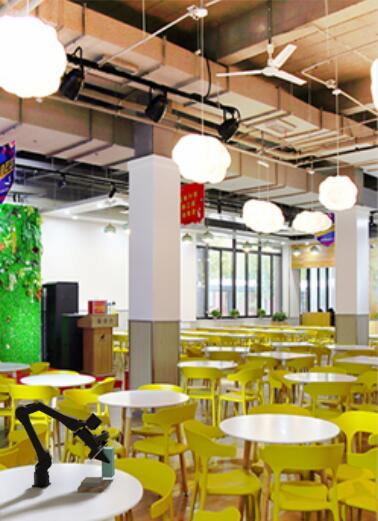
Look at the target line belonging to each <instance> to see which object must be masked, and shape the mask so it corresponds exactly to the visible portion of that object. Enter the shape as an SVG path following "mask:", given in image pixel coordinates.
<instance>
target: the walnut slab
mask: <svg viewBox="0 0 378 521" xmlns="http://www.w3.org/2000/svg"><path fill="white" fill-rule="evenodd" d="M108 484H109V482H108V480H107V479H103V482H102V483H101V484H100V486H99V487H81V484H80V485H79V486H78V487H77V493H103V492H104V490H105V488H106V487H107V486H108Z"/></svg>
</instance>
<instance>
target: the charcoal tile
mask: <svg viewBox="0 0 378 521" xmlns="http://www.w3.org/2000/svg"><path fill="white" fill-rule="evenodd" d="M103 480H104V477H102V476H87V477H85V478H83V480H82V481H81V482H80V485H81V487H99V486H100V484H101V483H102V482H103Z"/></svg>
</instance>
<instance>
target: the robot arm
mask: <svg viewBox="0 0 378 521" xmlns="http://www.w3.org/2000/svg"><path fill="white" fill-rule="evenodd" d="M37 412H41V413H42V414H44V415H46V416H49V417H50V418H52V419H53V420H56V421H58V422H60V423H61V424H62V425H63V426H64V427H66V428H67V429H68V430H69V431H71V432H72V439H75V438H76V437H77V438H78V439H80V441H82V443H84V444H83V446H84V447H87V448H88V449H89V450H90V451H89V453H88V454H87V458H88V459H89V460H90V461H91V460H92V459H93V460H97V461H100V462H101V463H102V462H105V463H108V464H109V463H110V461H109V459H108V458H107V457H106V455H105V454H104V449H102V448H103V447H109V438H111V436H110V432H109V431H108V430H106V429H103V430H101V433H100V434H98V435H97V434H95V433H94V434H93V433H92V431H96V430H97V429H98V428H99V427H100V426H101V425H102V424H103V423H104V421H103V420H102V419H101V418H100V417H99V416H98V415H96V413H94V412H92V413H90V414H89V416H88V417H87V418H86V419H80V418H78V417H77V416H73V415H71V414H65V413H63V412H61V411H59V410H58V409H55V408H54V407H52V406H49V405H47V404H46V403H45V402H43V401H42V400H38V401H36V402H31V403H27V404H23V403H22V404H18V405H17V406H16V407H15V409H14V416H15V418H16V419H17V421H18V422H19V423H20V424H21V425H22V426H23V428H24V430H25V432H26V434H27V436H28V439H29V440H30V443H31V444H32V447H33V449H34V451H35V453H36V456H37V463H36V464H35V465H34V471H33V484H32V485H31V487H34V488H43V489H44V488H46V487H47V486H50V485H51V484H52V482H50V473H49V472H50V471H49V469H50V468H51V466H52V464H53V455H52V454H51V453H50V450H49V448H46V449H45V447H44V445H43V443H42V442H41V439H40V438H39V436H38V433H37V431H36V430H35V427H34V425H33V423H32V421H31V417H30V415H32V414H34V413H37Z"/></svg>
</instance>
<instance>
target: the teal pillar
mask: <svg viewBox="0 0 378 521" xmlns="http://www.w3.org/2000/svg"><path fill="white" fill-rule="evenodd" d="M102 449H104V454H105V455H106V457H107V458H108V459H109V461H110V463H109V464H108V463H105V462H102V461H101V477H103V478H106V479H107V478H108V479H109V478H114V476H115V474H116V470H115V466H116V465H115V462H116V461H115V446H108V447H103V448H102Z"/></svg>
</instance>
